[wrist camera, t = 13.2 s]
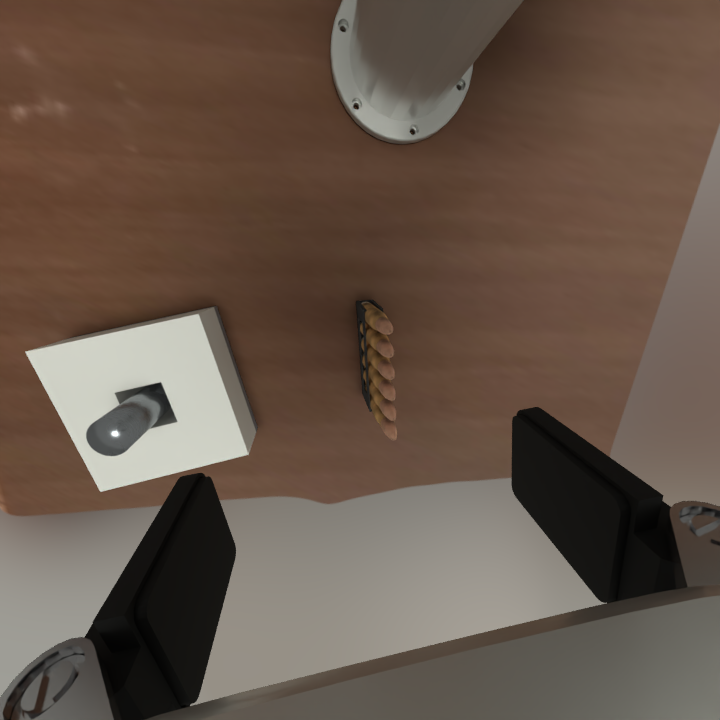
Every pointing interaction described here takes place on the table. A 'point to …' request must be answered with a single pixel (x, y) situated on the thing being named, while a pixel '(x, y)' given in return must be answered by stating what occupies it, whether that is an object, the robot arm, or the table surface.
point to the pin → (128, 421)
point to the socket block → (144, 367)
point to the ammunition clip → (377, 364)
